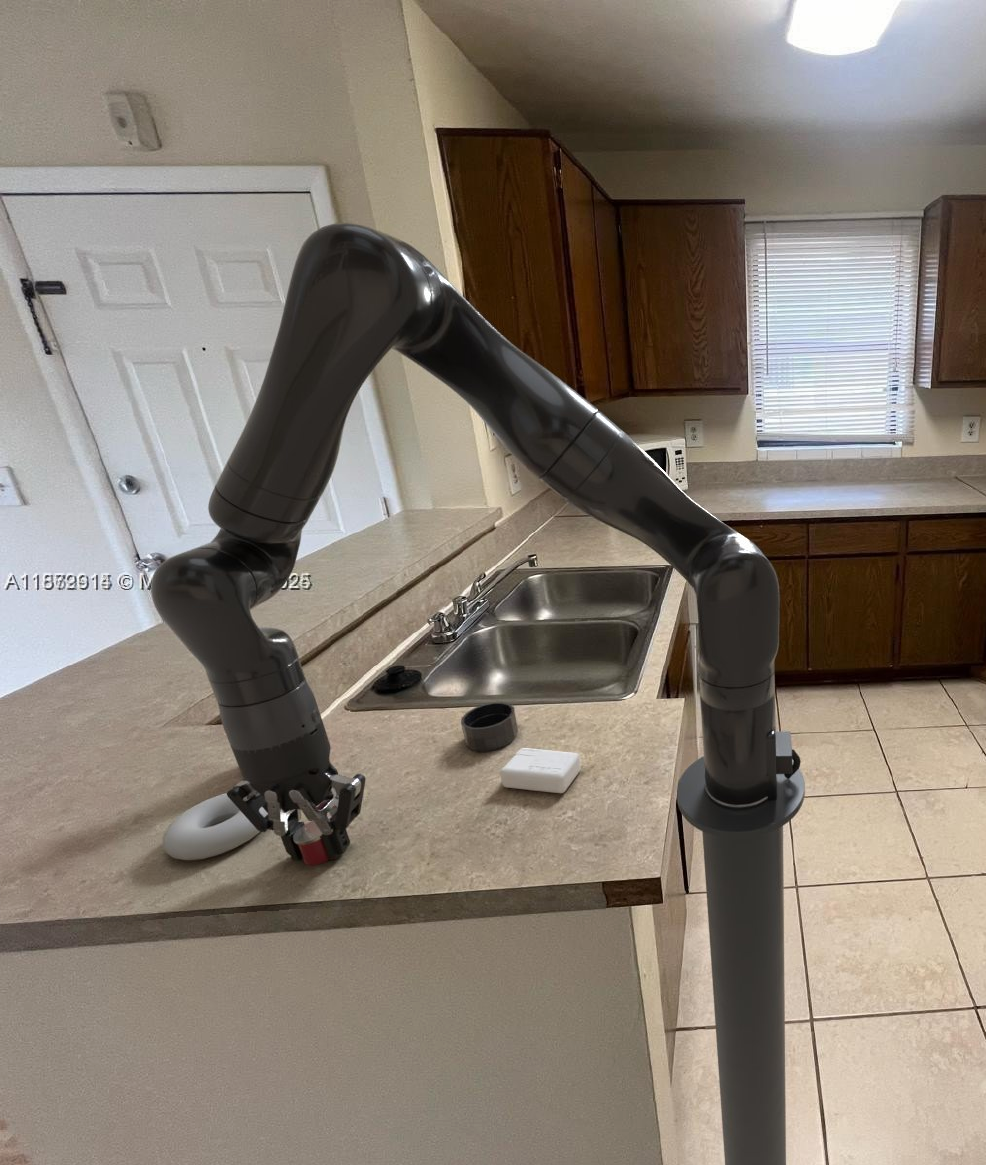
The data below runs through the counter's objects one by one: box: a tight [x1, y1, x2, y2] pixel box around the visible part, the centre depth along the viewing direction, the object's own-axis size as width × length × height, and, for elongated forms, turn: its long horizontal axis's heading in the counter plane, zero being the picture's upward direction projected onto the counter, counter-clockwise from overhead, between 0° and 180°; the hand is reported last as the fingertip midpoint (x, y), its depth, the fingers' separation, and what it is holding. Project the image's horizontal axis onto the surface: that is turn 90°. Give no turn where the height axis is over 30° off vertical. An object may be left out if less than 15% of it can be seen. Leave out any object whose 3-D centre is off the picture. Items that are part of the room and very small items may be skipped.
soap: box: [499, 747, 582, 794], centre depth 80 cm, size 9×6×3 cm, turn 81°
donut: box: [162, 792, 268, 861], centre depth 71 cm, size 10×4×10 cm
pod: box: [293, 821, 330, 866], centre depth 67 cm, size 4×4×4 cm
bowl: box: [460, 701, 519, 753], centre depth 89 cm, size 7×7×4 cm
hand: (321, 853), depth 68 cm, fingers closed on pod, 3 cm apart
